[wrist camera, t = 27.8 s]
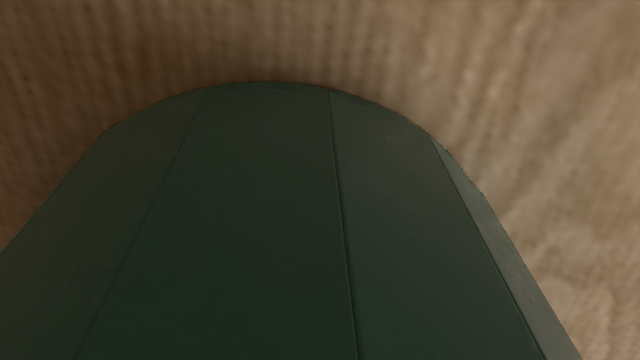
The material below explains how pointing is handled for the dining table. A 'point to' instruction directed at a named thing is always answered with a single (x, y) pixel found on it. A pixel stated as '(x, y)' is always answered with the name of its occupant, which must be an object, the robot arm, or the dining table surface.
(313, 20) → the dining table surface
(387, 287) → the tin
